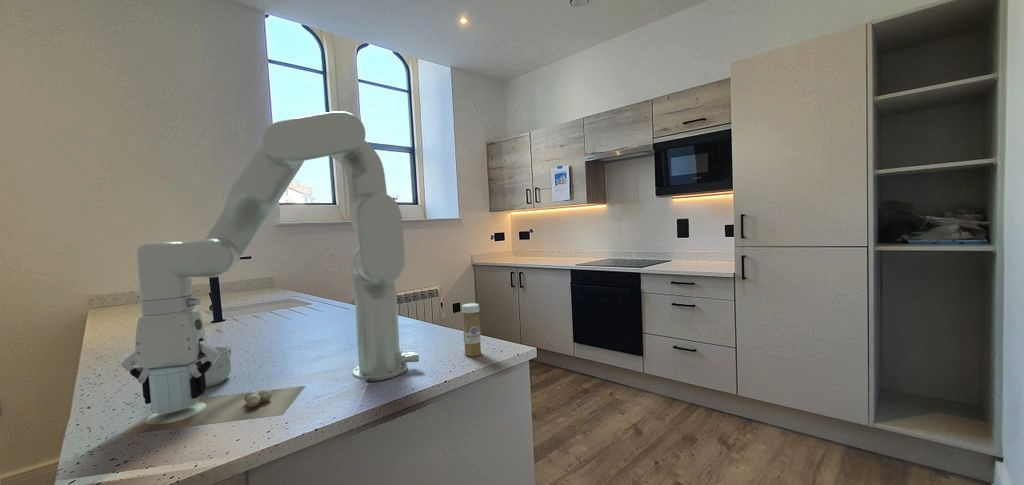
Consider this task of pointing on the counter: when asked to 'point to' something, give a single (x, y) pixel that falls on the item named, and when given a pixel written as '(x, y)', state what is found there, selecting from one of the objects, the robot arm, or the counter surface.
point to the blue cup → (170, 389)
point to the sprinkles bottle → (471, 329)
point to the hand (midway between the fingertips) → (175, 397)
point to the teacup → (218, 367)
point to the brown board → (222, 410)
